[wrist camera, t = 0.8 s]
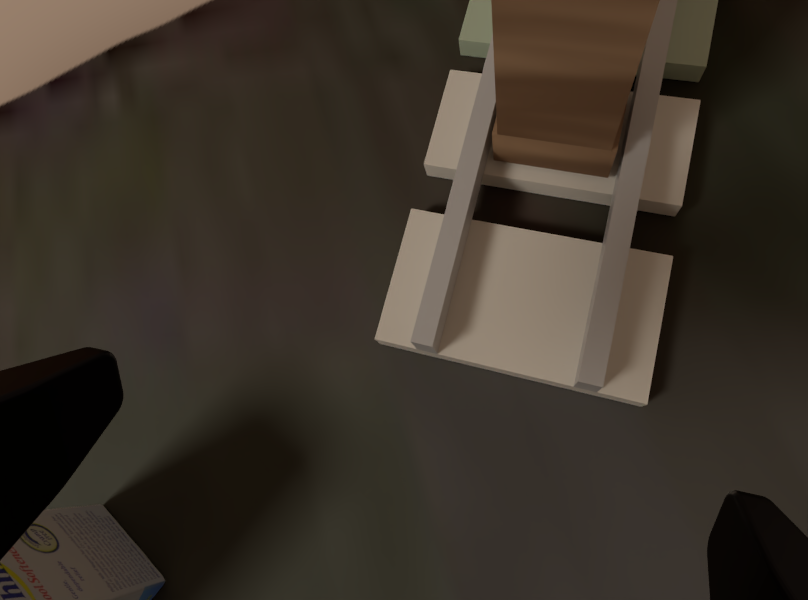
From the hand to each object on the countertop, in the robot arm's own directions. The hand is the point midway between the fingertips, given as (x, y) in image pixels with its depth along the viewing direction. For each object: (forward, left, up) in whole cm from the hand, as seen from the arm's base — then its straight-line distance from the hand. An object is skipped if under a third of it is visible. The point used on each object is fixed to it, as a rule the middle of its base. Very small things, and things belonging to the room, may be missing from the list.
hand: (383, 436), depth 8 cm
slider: (+9, -9, -13) cm, 18 cm away
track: (+9, -9, -14) cm, 19 cm away
